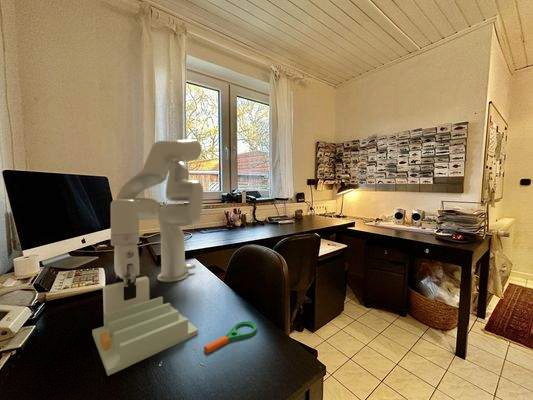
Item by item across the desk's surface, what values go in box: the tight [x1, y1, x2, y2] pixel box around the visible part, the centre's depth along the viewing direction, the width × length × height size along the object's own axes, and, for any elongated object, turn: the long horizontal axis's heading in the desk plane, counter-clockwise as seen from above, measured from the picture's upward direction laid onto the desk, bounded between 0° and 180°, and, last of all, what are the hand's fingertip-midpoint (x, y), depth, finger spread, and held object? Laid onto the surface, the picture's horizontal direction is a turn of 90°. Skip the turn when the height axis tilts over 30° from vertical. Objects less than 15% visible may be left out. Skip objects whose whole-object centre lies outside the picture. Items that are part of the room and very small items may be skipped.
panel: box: [102, 275, 150, 315], centre depth 74 cm, size 12×3×9 cm, turn 134°
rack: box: [91, 295, 199, 377], centre depth 61 cm, size 20×19×5 cm
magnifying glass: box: [203, 320, 258, 354], centre depth 60 cm, size 15×6×2 cm, turn 135°
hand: (125, 294), depth 73 cm, fingers open, 9 cm apart
